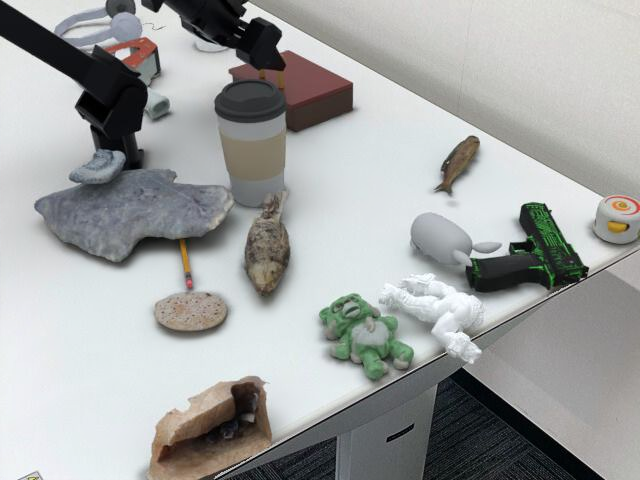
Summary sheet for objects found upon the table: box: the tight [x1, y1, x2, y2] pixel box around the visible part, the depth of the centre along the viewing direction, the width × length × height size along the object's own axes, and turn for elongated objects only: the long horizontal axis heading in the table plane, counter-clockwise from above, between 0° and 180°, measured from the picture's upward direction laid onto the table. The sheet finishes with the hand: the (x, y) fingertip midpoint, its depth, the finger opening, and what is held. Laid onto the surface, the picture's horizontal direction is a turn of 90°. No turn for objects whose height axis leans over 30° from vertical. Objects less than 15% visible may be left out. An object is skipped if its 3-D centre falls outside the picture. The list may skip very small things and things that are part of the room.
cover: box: [228, 49, 354, 109], centre depth 118 cm, size 12×17×6 cm
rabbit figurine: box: [409, 212, 503, 267], centre depth 90 cm, size 6×5×12 cm
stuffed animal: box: [318, 292, 415, 380], centre depth 80 cm, size 8×12×4 cm
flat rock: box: [33, 167, 235, 263], centre depth 95 cm, size 18×5×25 cm
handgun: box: [464, 201, 590, 294], centre depth 92 cm, size 16×3×15 cm
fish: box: [433, 134, 481, 194], centre depth 107 cm, size 17×4×2 cm, turn 160°
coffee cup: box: [213, 79, 287, 208], centre depth 98 cm, size 9×9×15 cm
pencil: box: [179, 238, 193, 288], centre depth 94 cm, size 19×1×1 cm, turn 15°
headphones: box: [53, 0, 166, 48], centre depth 140 cm, size 17×6×20 cm
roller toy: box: [592, 194, 640, 245], centre depth 95 cm, size 4×6×6 cm
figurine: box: [378, 272, 486, 366], centre depth 82 cm, size 10×5×12 cm
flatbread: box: [154, 291, 228, 332], centre depth 84 cm, size 8×8×1 cm
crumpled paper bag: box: [145, 375, 273, 480], centre depth 69 cm, size 6×12×8 cm, turn 129°
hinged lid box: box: [231, 75, 354, 133], centre depth 122 cm, size 12×17×4 cm
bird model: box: [243, 189, 291, 298], centre depth 91 cm, size 21×6×5 cm, turn 3°
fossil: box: [68, 149, 126, 184], centre depth 94 cm, size 8×4×5 cm
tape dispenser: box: [103, 36, 171, 119], centre depth 124 cm, size 18×5×20 cm
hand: (265, 58), depth 115 cm, fingers open, 9 cm apart
